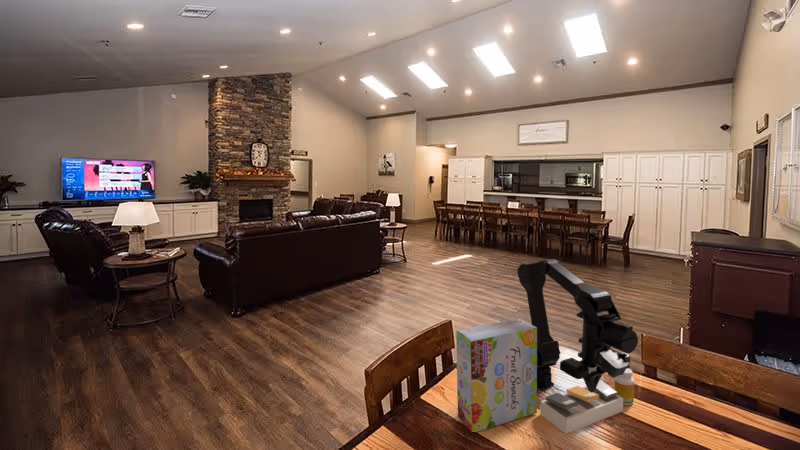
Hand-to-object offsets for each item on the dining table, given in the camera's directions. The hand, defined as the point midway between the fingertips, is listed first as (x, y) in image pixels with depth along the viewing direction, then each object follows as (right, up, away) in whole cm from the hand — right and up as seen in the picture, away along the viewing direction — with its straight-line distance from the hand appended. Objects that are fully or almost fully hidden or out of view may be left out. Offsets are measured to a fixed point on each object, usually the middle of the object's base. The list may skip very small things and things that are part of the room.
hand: (591, 391), depth 102 cm
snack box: (-25, -8, +3) cm, 27 cm away
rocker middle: (-1, -2, +3) cm, 3 cm away
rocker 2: (+6, -1, +6) cm, 8 cm away
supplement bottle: (+14, -7, +9) cm, 18 cm away
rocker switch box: (-1, -8, +3) cm, 8 cm away
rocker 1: (-8, -2, 0) cm, 9 cm away
